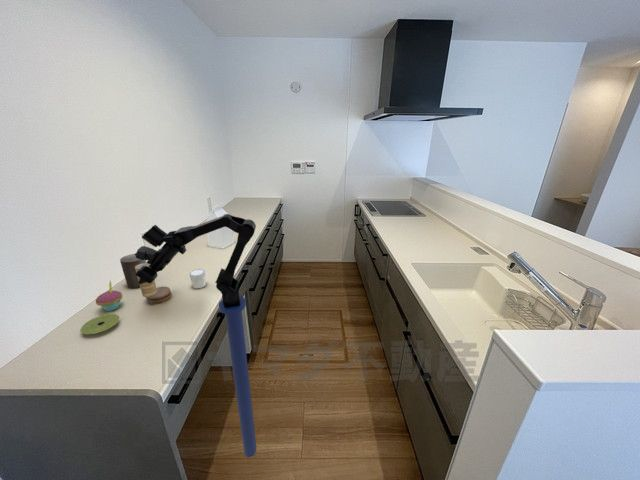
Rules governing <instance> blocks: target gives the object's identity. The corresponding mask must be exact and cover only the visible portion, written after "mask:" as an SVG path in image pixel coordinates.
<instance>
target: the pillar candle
mask: <svg viewBox="0 0 640 480" xmlns="http://www.w3.org/2000/svg"><path fill="white" fill-rule="evenodd" d="M119 261H120V265H121V269H122V273H123V275H124V279H125V283H126V286H127V288H129V289H137V288H139V289H140V284H139V283H138V282H139V281H138V277H137V276H136V270H135V267H136V266H137V265H139V264H142V263H147V260H140V259H137V258H136V255H135V253H131V254H127V255H124V256H122V257H120V259H119Z"/></svg>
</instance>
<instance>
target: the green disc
mask: <svg viewBox="0 0 640 480" xmlns="http://www.w3.org/2000/svg"><path fill="white" fill-rule="evenodd" d="M119 321H120V316H119V315H118V314H116V313H107V314H103V315H99V316H96V317H93V318H91V319H89V320H88V321H86V322H85V323H84V324H82V326H81V327H80V332H81V334H84V335H94V334H95V335H96V334H98V333H102V332H105V331H107V330H109V329H111V328H112V327H115V325H116V324H117V323H119Z"/></svg>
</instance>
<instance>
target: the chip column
mask: <svg viewBox="0 0 640 480" xmlns="http://www.w3.org/2000/svg"><path fill="white" fill-rule="evenodd" d="M149 265H150V264H148V263H147V262H146V263H142V264H139V265H137V266H136V267H135V270H136V272H137V271H138V270H139V269H140V268H141V267H143V266H147V267H149ZM149 268H150V267H149ZM150 269H151V268H150ZM137 277H138V276H137ZM139 279H140V278H139V277H138V281H139ZM139 289H140V291H141V295H142V297H143V298H146V297H150V296H153V295H155V294H156V293H157V285H156V279H155V280H154V281H153V282H152V283H147V282H145V283H143V284H140V287H139Z"/></svg>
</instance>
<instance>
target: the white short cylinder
mask: <svg viewBox="0 0 640 480" xmlns="http://www.w3.org/2000/svg"><path fill="white" fill-rule="evenodd" d="M188 275H189V279H190V282H191V285H192V287H193V289H201V288H204V287H205V286H206V285H207V282H206V270H205V269H202V268H197V269H193V270H191V271H189V273H188Z"/></svg>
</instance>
